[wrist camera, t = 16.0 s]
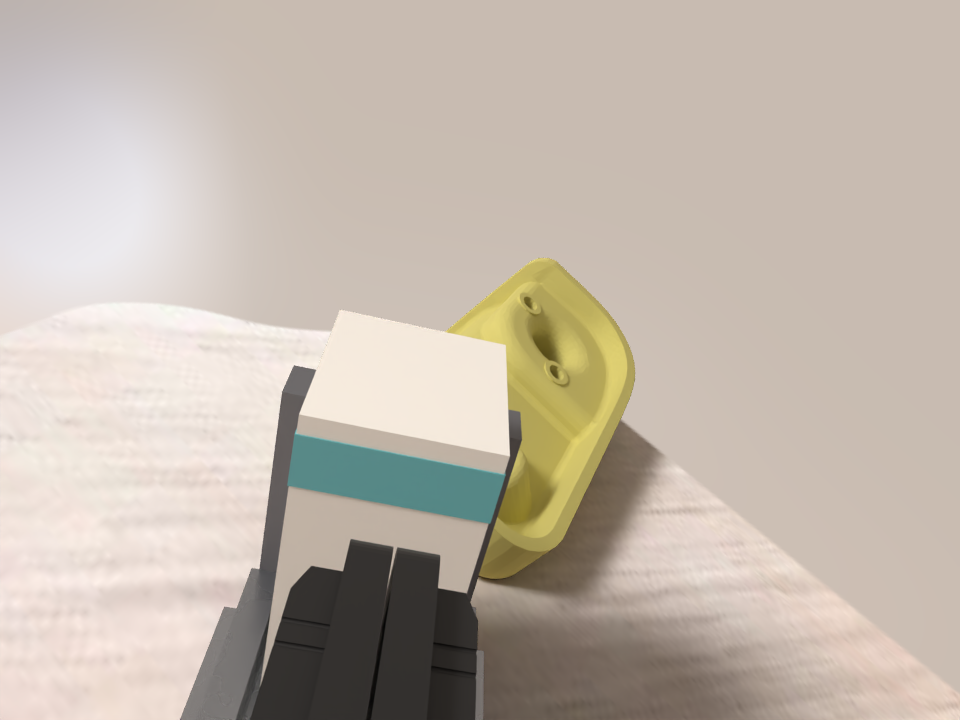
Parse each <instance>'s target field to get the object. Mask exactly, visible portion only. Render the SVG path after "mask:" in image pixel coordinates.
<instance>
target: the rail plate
mask: <svg viewBox="0 0 960 720" xmlns="http://www.w3.org/2000/svg"><path fill="white" fill-rule="evenodd" d="M275 579H276V572H271V571H265V570H260V569H254V568H252V569H251V572H250V574H249V577H248V580H247V582H246V585H245V588H244V590H243V593H242V596H241V598H240V601H239V604H238V607H237V609H235V608H229V607H224V609H223V611H222V614H221V616H220V619H219V622H218V624H217V627H216V629H215V632H214V634H213V637H212V639H211V642H210V645H209V647H208V650H207V652H206V655H205V657H204V660H203V662H202V665H201V668H200V670H199V673H198V675H197V678H196V680H195V683H194V685H193V688H192V691H191V693H190V696H189V698H188V701H187V703H186V706H185V708H184V711H183V714H182V716H181V719H180V720H250V718H251V715H252V712H253V708H254V705H255V702H256V699H257V695H258V692H259V689H260V683H261V677H262V670H263V663H264V656H265V649H266V642H267V635H268V628H269V621H270V614H271V607H272V600H273V593H274V586H275ZM472 608H473V610H474V613H475V615H476V608H474V607H472ZM476 655H477V673H476V712H475V720H483V704H484V651H480V650H477V652H476Z"/></svg>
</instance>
